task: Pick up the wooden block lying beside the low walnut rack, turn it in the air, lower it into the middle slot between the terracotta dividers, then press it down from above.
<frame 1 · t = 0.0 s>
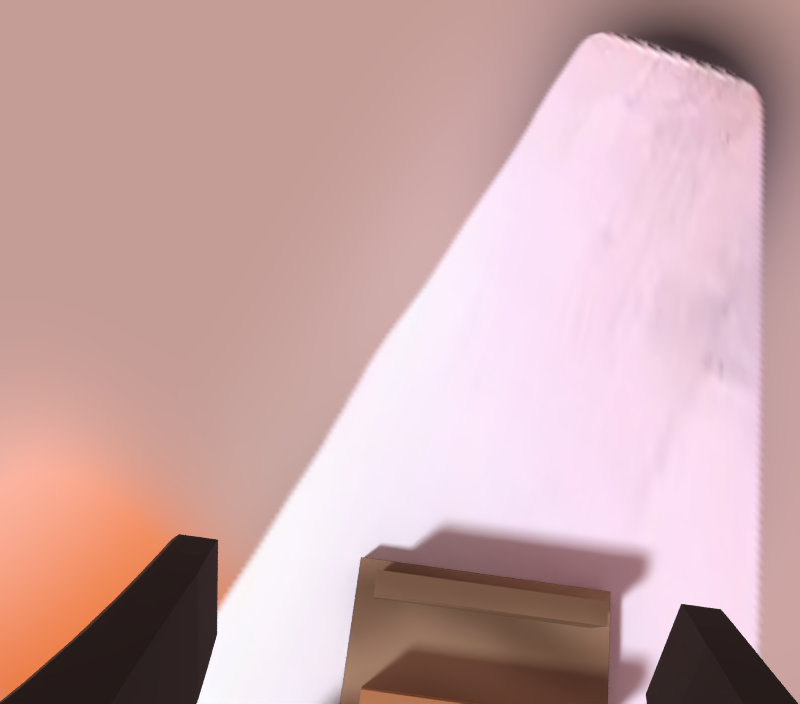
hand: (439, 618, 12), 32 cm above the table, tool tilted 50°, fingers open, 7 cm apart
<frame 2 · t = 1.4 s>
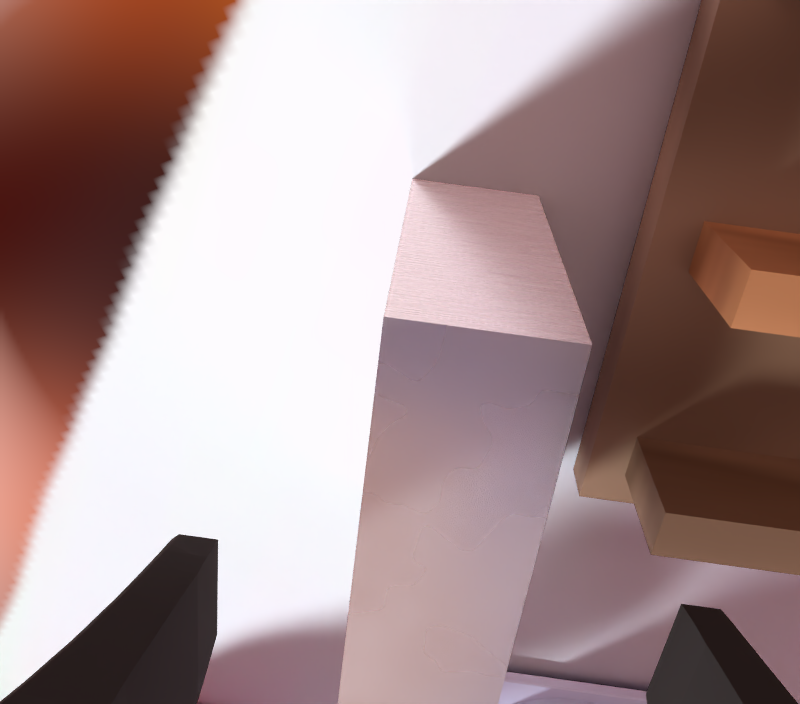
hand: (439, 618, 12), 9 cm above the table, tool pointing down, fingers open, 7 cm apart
wooden block: (447, 354, 20), on the table
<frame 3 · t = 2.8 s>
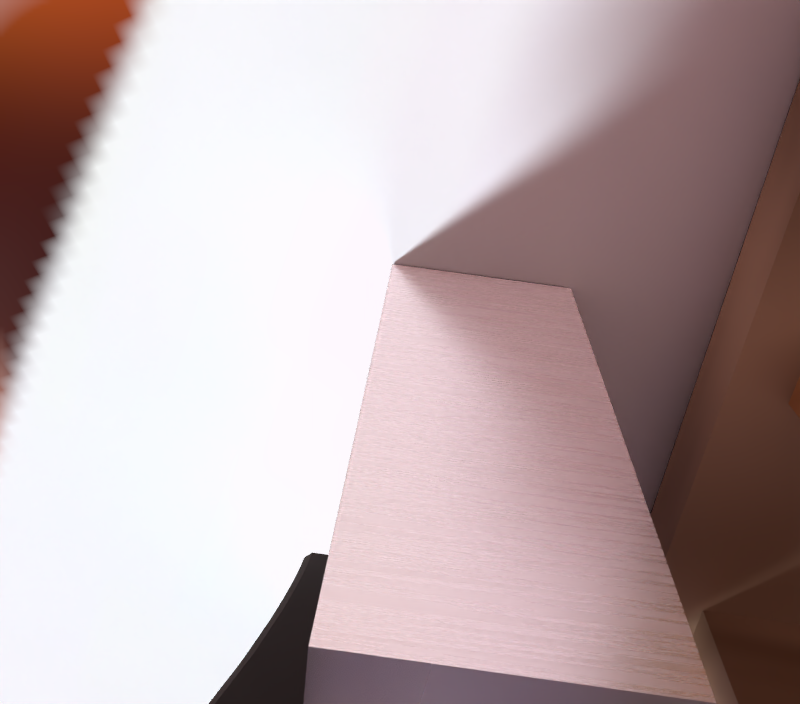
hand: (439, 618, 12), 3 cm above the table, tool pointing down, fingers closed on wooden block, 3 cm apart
wooden block: (442, 491, 15), on the table, touching gripper
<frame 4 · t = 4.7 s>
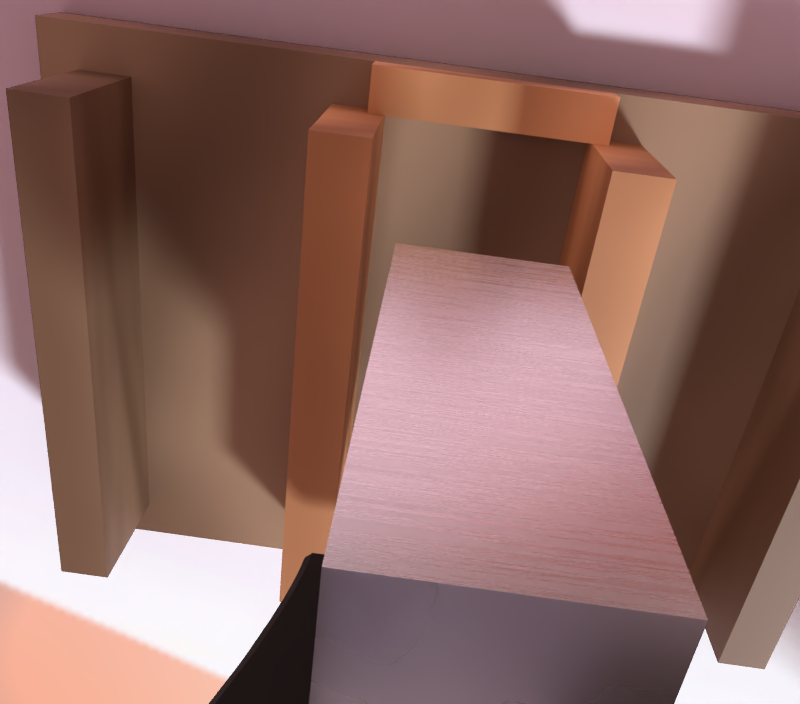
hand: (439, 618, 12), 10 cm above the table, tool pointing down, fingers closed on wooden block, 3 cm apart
wooden block: (444, 469, 15), point 6 cm above the table, touching gripper
rack: (447, 341, 21), on the table
when the fingers open (5 cm above the table, at t = 6.6 s): wooden block stays where it is, resting on rack.
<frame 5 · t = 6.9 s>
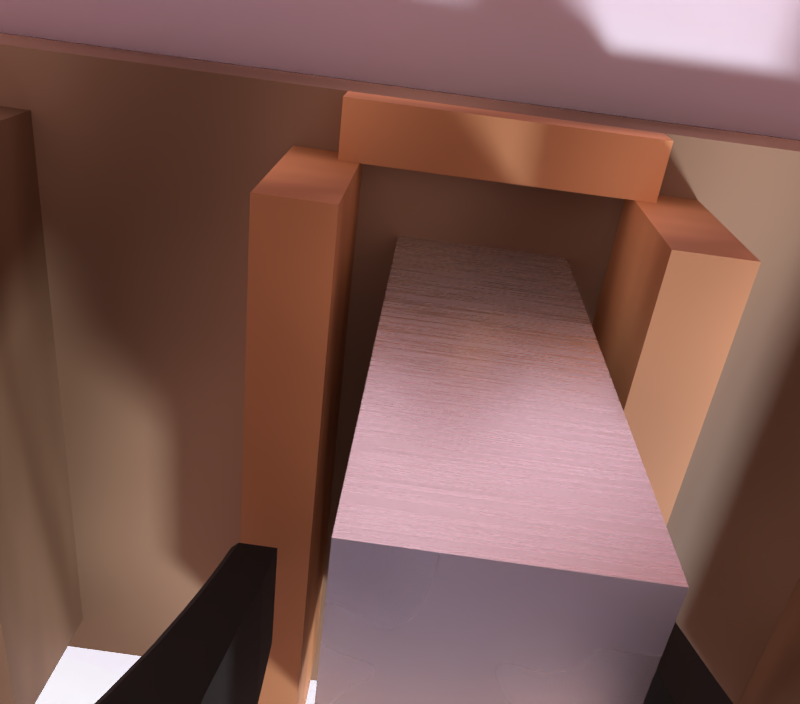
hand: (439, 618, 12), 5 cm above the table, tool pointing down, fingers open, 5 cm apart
wooden block: (445, 454, 15), point 1 cm above the table, touching rack
rack: (444, 430, 17), on the table
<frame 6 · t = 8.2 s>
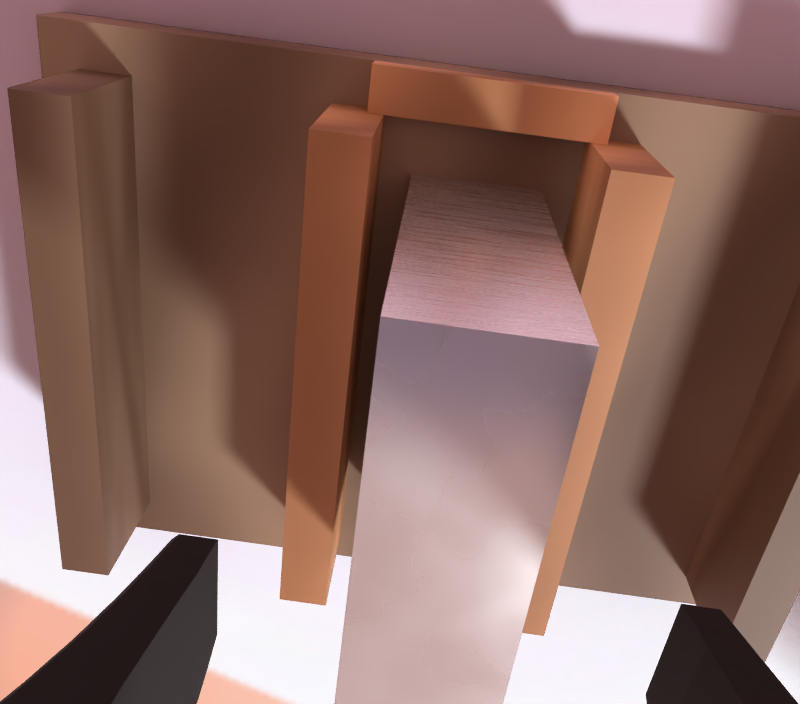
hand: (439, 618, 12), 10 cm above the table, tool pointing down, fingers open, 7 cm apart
wooden block: (447, 354, 19), point 1 cm above the table, touching rack
rack: (447, 340, 21), on the table
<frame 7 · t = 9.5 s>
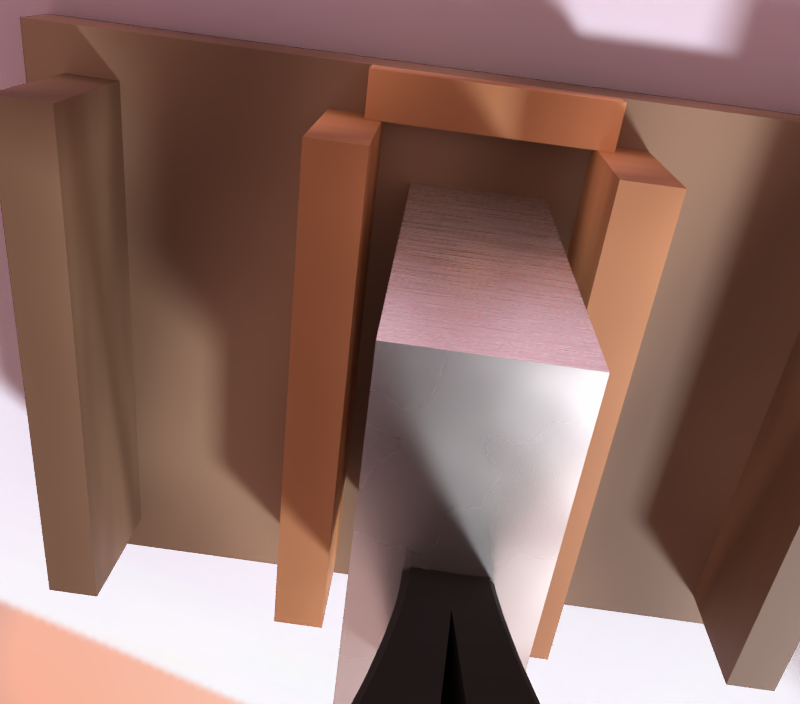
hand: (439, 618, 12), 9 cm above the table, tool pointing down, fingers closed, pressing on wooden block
wooden block: (448, 368, 19), point 1 cm above the table, touching gripper, rack
rack: (447, 352, 20), on the table
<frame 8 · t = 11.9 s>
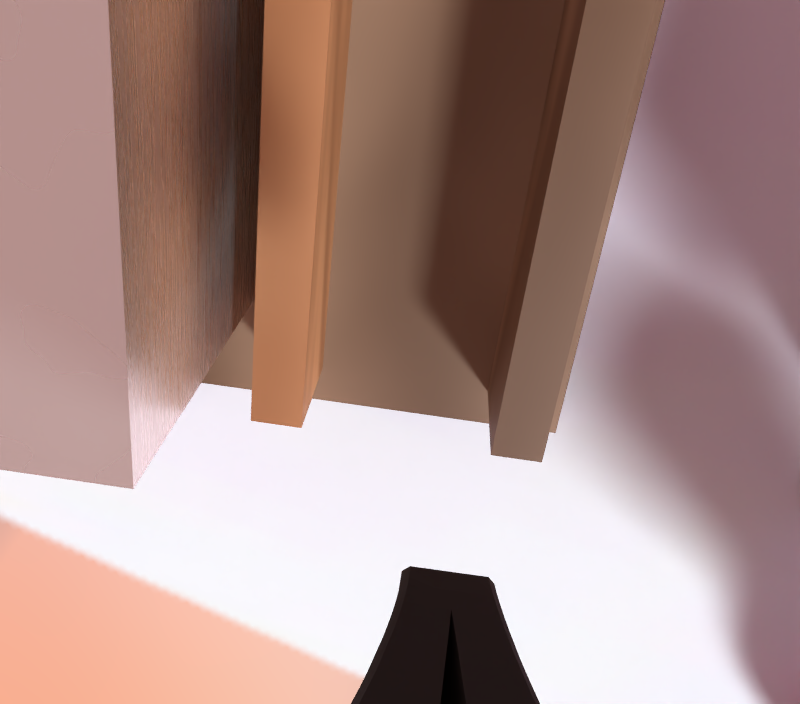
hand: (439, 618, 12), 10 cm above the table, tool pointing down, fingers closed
wooden block: (195, 116, 18), point 1 cm above the table, touching rack
rack: (210, 115, 19), on the table
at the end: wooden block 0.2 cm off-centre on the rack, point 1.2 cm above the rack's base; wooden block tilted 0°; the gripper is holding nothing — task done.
